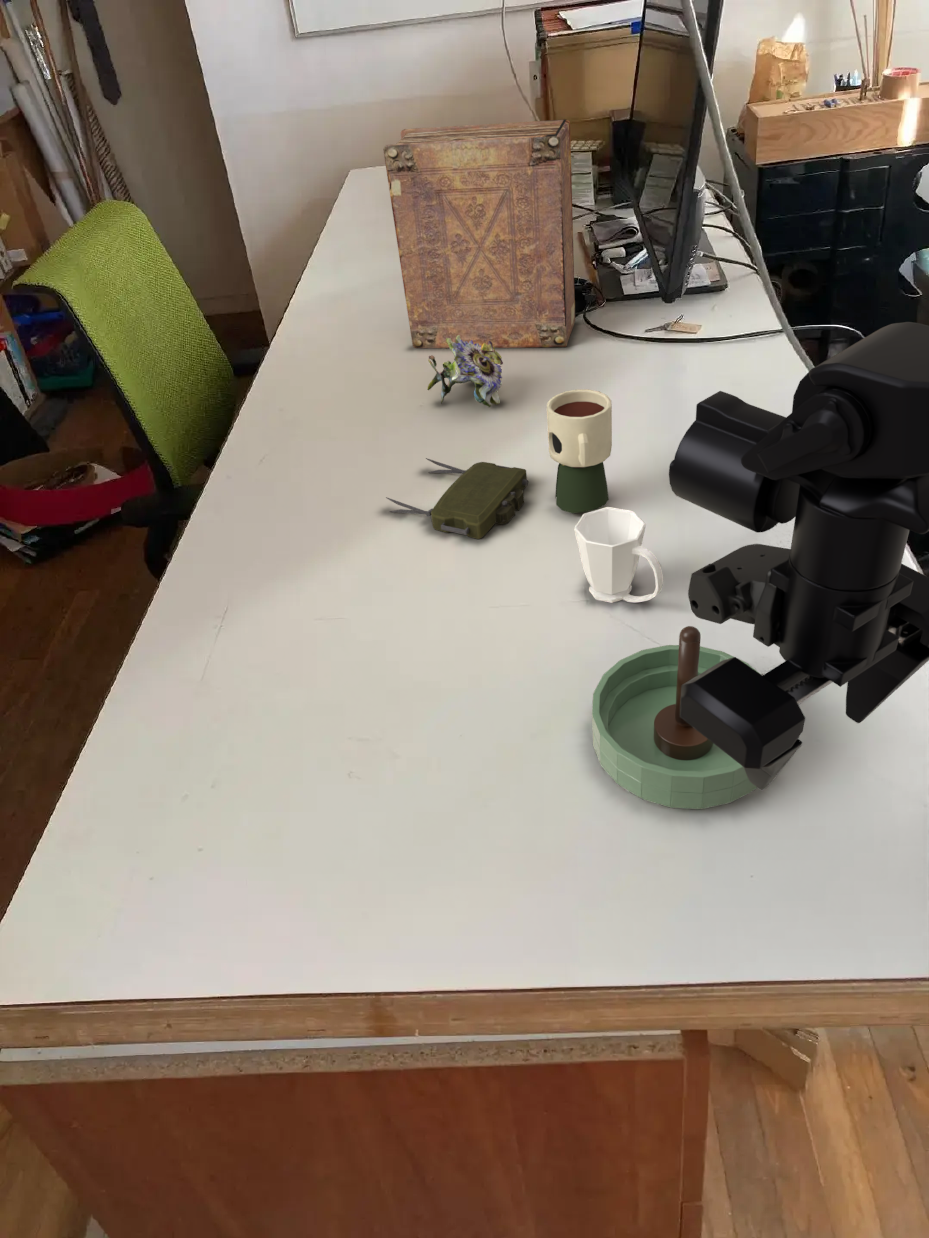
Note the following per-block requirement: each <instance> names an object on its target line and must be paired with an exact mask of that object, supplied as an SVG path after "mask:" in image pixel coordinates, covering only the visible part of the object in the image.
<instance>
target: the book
mask: <svg viewBox="0 0 929 1238" xmlns="http://www.w3.org/2000/svg"><path fill="white" fill-rule="evenodd" d="M571 140H572V139H571V121H570V120H569V119H565V118H564V119H552V120H550V119H549V120H536V121H535V120H533V121H519V122H501V123H500V122H499V123H485V124H467V125H466V124H465V125H451V126H449V125H448V126H433V127H416V128H404V129H402V130H401V131H400V140H398V142H396V143H393V144H385V145H384V146H383V156H384V157H383V158H384V163H385V169H386V177H387V183H388V184H387V185H388V190H389V198H390V204H391V210H392V217H393V223H394V230H395V231H394V232H395V236H396V245H397V250H398V257H399V258H398V259H399V265H400V271H401V277H402V284H403V290H404V297H405V304H406V311H407V317H408V324H409V330H410V337H411V338H410V339H411V344H412V347H413V348H414V349H450V348H449V346H448V344H447V341H446V338H450V339H451V341H452V342H455V343H456V337H457V336H458V335H460V339H461V340H462V341H463V342H464V341H466V342H468V343H469V341H471V340H472V342H473V344H477V343H478V344H479V345H480V346H482V344H483V343H485V344H486V345H488V341H491V342H492V345H493V347H494V349H497V348H505V349H506V348H507V349H509V348H566V347H567V345H568V343H569V340H570V337H571V334H572V331H573V329H574V326H575V323H576V300H575V298H576V297H575V296H576V295H575V263H574V262H575V258H574V257H575V256H574V224H573V223H574V221H573V220H574V218H573V217H574V216H573V184H572V181H573V180H572V143H571Z"/></svg>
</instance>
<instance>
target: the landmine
mask: <svg viewBox="0 0 929 1238" xmlns="http://www.w3.org/2000/svg"><path fill="white" fill-rule="evenodd" d="M425 460H427V461H429V462H431V463H433V464H435V465H436V466H439V467H442V468H444V469H436V470H432V471H431V470H430V471H429V472H428V473H429V474H432V473H434V474H459V476H458V477H457V479H456V480H455V481H454V482H453V483H452V484H451V485H450V486H449V487H448V488H447V489H446V491H444V492H443V494H442V495H441V497H440V498H439V499H438V501H437V502H436V504H435V505H434V507H433V508H430V509H428V510H423V509H421V508H418V507H415V506H413V505H411V504H407V503H404V502H401V501H398V500H396V499H393V498H390V497H388V496H386V497H385V498H386V500H389V501H390V502H392V503H394V504H396V505H398V506H400V507H403V508H405V509H401V508H400V509H399V508H398V509H395V510H389V513H399V514H414V515H415V514H416V515H424V516H426V517H428V518H430V517H431V524H432V528H433V530H436V531H439V532H443V533H455V534H459V535H464V536H467V537H469V538H473V539H477V540H480V539H482V538H483V537H484V536H486V534H487V533H489V531H490V530H491V529H492V528H493V526H495V524H497V525H505V524H508V523H509V522H510V521H511V520H512V518H513V517H515V516H516V511H517V512H519V511H520V509H521V507H522V506H523V505H524V504H525V496H524V489H525V488H526V487H527V486H528V485H529V479H528V477H527V476H528V475H527V469H525V468H522V467H521V468H520V467H515V466H513V467H509V466H504V465H498V464H496V463H493V462H487V461H480V462H479V461H478V462H476V463H474V464H472V465H471V466H470V467H469V468H467V469H466V470H465V469H460V468H459V467H455V466H452V465H448V464H445V463H442V462H439V461H436V460H433V459H430V458H427V457H425ZM460 474H461V475H460Z"/></svg>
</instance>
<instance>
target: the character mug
mask: <svg viewBox="0 0 929 1238" xmlns="http://www.w3.org/2000/svg"><path fill="white" fill-rule="evenodd" d="M612 403H613V402H612V399H611V398H610V397H609V395H607V394H605V393H603V392H601V391H599V390H595V389H587V388H586V389H585V388H584V389H583V388H582V389H571V390H566V391H563V392H561V393H558V394H556V395H553V397H551V398H550V399H549V400H548V401H547V403H546V422H547V440H548V452H549V456H550V459H552V460H553V461H554V462H556V463H558V465H557V472H556V481H555V495H554V497H555V505H556V507H558V509H560V510H561V511H563V512H567V513H570V514H580V513H588V512H591V511H595V510H598V509H601V508H603V507H605V506H606V505H607V503H608V502H609V500H610V497H609V488H608V482H607V476H606V471H605V464H604V462H606V461H607V459H608V458H609V457H611V454H612V447H613V419H612V418H613V415H612V414H613V413H612V412H613V410H612V409H613V406H612V405H613V404H612Z"/></svg>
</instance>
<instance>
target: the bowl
mask: <svg viewBox="0 0 929 1238" xmlns="http://www.w3.org/2000/svg"><path fill="white" fill-rule="evenodd" d="M678 653H679V644H666V645H662V646H656V647H650V648H646V649H642V650H639V651H637V652H635V653H632V654H630V655H628V656H626V657H624V658H621V659H620V660H618V661H617V662H616V663H615V664H614V665H613V666H611V667H610V668H609V669H608V670H607V671H606V672H604V674H603V675H602V676H601V678H600V680H599V682H598V684H597V685H596V688H594V689H595V690H594V691H593V693H592V706H591V707H592V709H591V717H592V718H591V721H592V723H591V724H592V725H591V727H592V746H593V748H594V752H595V754H596V756H597V757H596V758H597V760H598V762H599V765H600V766H601V768H602V769H603V770H604V771H605V772H606V774H608V776H609V777H610V778H611V779H612V780H613V781H614V782H615V783H616V784H617V785H618V786H620V787H621V788H623V789H625V790H626V791H628V792H629V793H631V794H633V795H634V796H636V797H637V798H639V799H641V800H644V801H647V802H650V803H654V804H657V805H661V806H664V807H667V808H671V809H691V810H705V809H708V808H713V807H718V806H722V805H727V804H731V803H734V802H736V801H737V800H739V799H741V798H743V797H745V796H746V795H749V794H751V793H752V792H754V791H755V790H756V789H758V788H757V787H756V786H755V785H753V784H752V783H751V782H750V781H749V779H748V776H747V774H746V772H745V769H744V767H743V766H742V765H740V764H739V763H738V762H736V761H735V760H734V759H733V758H731V757H730V756H729V755H728V754H726V753H725V752H724V751H723V750H721V749H720V748H719V747H717V746H716V745H715V744H714V743H713V746H712V748H711V749H710V751H709V752H708V753H707V754H705V755H704V756H702V757H700V758H697V759H693V760H678V759H674V758H671V757H669V756H667V755H665V754H664V753H662V752H661V751H660V750H659V749H658V747H657V746H656V744H655V742H654V720H655V717H656V715H657V714H658V713H659V711H661V710H662V709H663V708H665V707H667V706H669V705H673V704H676V689H677V671H678ZM733 657H735V656H734V655H731V654H729V653H727V652H725V651H722V650H718V649H714V648H709V647H705V646H701V645H700V652H699V666H698V675H699V674H701V673H703V672H704V671H706V670H708V669H709V668H711V667H713V666H714V665H716V664H718V663H719V662H721V661H722V660H726V659H730V658H733ZM738 659H739V660H741V661H742V662H743V663H745V664H746V665H748V666H749V667H751V668H752V669H754V670H755V671H757V672H758V673H759V674H761V673H760V672H759V671H758V670H756V668H754V667H753V666H752V665H750V664H749V663H748V662H747V661H744V660H742V659H740V658H738Z"/></svg>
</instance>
